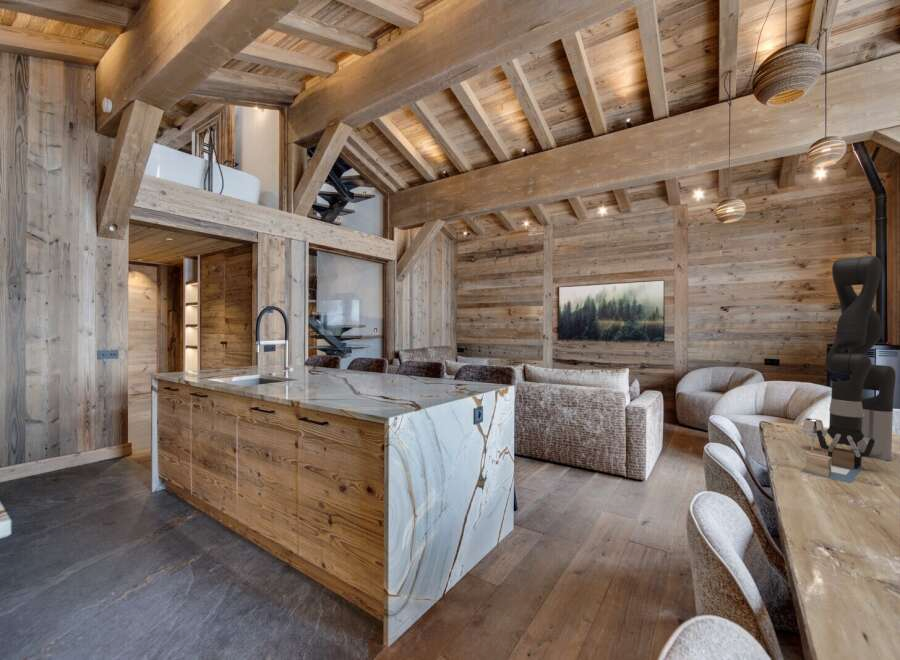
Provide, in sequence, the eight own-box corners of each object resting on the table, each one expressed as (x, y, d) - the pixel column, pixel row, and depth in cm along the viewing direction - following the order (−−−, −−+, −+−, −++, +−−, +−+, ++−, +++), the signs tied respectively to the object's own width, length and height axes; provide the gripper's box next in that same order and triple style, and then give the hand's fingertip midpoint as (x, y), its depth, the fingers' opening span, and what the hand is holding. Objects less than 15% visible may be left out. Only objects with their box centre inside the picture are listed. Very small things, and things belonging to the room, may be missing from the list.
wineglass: (827, 455, 143) (828, 422, 143) (808, 453, 144) (809, 421, 144) (815, 450, 148) (816, 418, 148) (798, 448, 150) (799, 417, 149)
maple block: (809, 468, 125) (810, 452, 125) (831, 473, 121) (831, 457, 121) (805, 471, 122) (806, 455, 122) (827, 476, 118) (828, 460, 118)
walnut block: (835, 462, 132) (835, 447, 132) (856, 466, 128) (856, 451, 128) (831, 464, 129) (832, 449, 129) (853, 469, 125) (854, 453, 125)
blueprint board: (817, 460, 136) (817, 457, 136) (863, 470, 128) (863, 466, 128) (800, 474, 123) (800, 471, 123) (850, 486, 114) (850, 482, 114)
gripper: (879, 416, 125) (877, 469, 125) (818, 408, 136) (817, 457, 137) (876, 419, 120) (874, 474, 121) (813, 410, 132) (811, 461, 132)
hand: (843, 465), depth 129 cm, fingers closed on walnut block, 5 cm apart
